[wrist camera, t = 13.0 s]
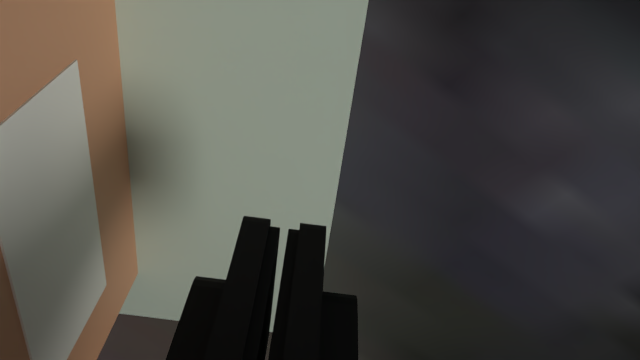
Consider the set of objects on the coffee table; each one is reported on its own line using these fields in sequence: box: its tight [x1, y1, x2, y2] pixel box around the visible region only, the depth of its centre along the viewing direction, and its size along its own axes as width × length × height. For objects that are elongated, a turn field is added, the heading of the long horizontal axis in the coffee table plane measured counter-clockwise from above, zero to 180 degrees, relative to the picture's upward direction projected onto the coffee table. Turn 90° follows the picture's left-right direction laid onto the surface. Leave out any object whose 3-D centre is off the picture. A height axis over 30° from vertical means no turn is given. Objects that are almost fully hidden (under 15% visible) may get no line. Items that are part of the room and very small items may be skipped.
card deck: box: [0, 0, 138, 360], centre depth 12 cm, size 2×10×7 cm, turn 173°
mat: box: [115, 0, 369, 332], centre depth 15 cm, size 18×14×1 cm
